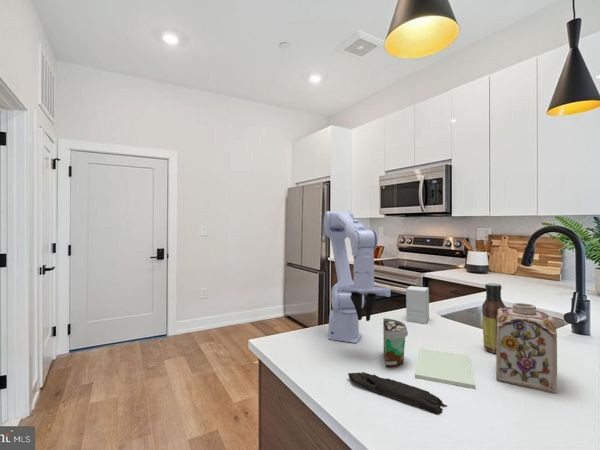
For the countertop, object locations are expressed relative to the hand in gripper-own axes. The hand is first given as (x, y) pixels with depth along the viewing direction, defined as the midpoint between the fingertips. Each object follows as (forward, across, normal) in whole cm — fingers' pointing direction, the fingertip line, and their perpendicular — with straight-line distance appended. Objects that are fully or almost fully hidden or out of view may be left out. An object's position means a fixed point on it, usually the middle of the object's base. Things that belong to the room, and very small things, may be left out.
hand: (364, 319), depth 91 cm
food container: (+11, +9, 0) cm, 14 cm away
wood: (+11, +10, -16) cm, 22 cm away
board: (+11, +21, +2) cm, 23 cm away
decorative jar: (+11, +39, +4) cm, 40 cm away
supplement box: (+10, +12, +42) cm, 45 cm away
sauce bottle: (+11, +35, +20) cm, 41 cm away
